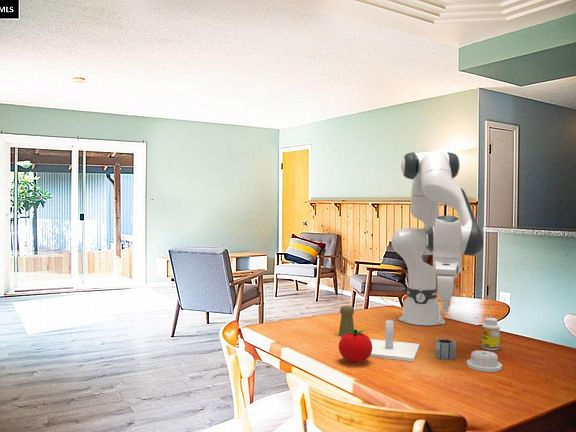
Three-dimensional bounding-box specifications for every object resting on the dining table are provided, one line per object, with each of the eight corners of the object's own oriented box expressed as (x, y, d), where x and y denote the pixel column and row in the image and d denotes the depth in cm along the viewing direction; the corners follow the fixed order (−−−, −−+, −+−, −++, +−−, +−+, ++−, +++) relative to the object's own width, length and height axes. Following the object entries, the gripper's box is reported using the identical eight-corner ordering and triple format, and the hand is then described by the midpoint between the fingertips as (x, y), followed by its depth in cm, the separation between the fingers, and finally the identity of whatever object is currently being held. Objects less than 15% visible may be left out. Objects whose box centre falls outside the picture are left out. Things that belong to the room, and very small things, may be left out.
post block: (367, 341, 188) (368, 313, 188) (419, 346, 182) (419, 317, 181) (356, 355, 171) (357, 324, 171) (413, 361, 165) (414, 329, 165)
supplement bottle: (479, 346, 183) (479, 317, 183) (494, 346, 184) (495, 317, 183) (485, 350, 178) (486, 320, 177) (502, 350, 178) (502, 320, 178)
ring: (436, 353, 174) (436, 338, 174) (455, 355, 172) (455, 340, 172) (434, 358, 168) (434, 342, 168) (454, 360, 166) (455, 344, 166)
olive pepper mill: (354, 337, 193) (354, 308, 193) (337, 336, 194) (338, 307, 194) (355, 333, 199) (355, 304, 198) (339, 332, 200) (339, 304, 200)
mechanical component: (484, 361, 167) (459, 364, 163) (485, 347, 167) (460, 350, 163) (509, 370, 158) (483, 374, 154) (509, 356, 158) (483, 359, 154)
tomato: (331, 359, 166) (332, 328, 165) (358, 355, 171) (358, 324, 171) (352, 369, 157) (352, 335, 156) (379, 363, 162) (379, 331, 162)
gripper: (438, 262, 180) (438, 303, 180) (434, 269, 161) (433, 314, 161) (458, 263, 178) (457, 304, 178) (456, 270, 159) (455, 316, 159)
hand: (446, 309), depth 170 cm, fingers open, 8 cm apart
